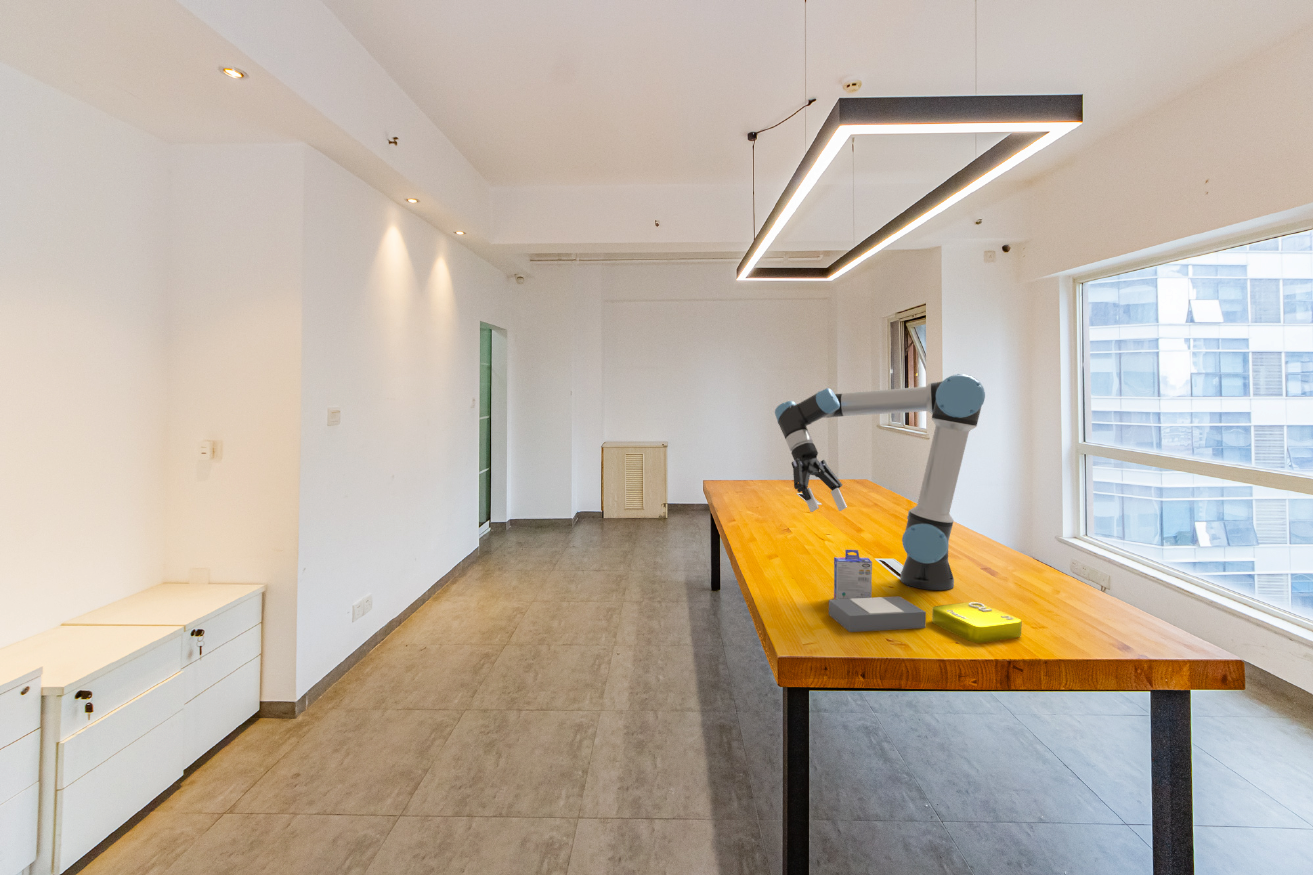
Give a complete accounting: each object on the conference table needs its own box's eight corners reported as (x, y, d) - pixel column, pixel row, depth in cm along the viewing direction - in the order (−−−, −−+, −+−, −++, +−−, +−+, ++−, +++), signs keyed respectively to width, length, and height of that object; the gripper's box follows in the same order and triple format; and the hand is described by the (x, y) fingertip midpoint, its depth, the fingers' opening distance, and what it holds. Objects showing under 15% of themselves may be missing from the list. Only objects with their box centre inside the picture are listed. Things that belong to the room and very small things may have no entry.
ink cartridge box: (868, 599, 167) (869, 549, 166) (872, 605, 162) (873, 554, 161) (832, 597, 169) (833, 548, 168) (835, 604, 163) (836, 553, 162)
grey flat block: (899, 610, 157) (899, 595, 157) (925, 627, 146) (925, 611, 145) (828, 614, 155) (829, 599, 155) (849, 631, 143) (849, 615, 143)
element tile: (928, 622, 150) (928, 604, 150) (975, 616, 154) (975, 598, 154) (974, 645, 136) (975, 625, 136) (1025, 638, 140) (1026, 618, 140)
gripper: (818, 454, 192) (845, 513, 183) (766, 451, 177) (792, 515, 168) (835, 443, 187) (863, 503, 178) (783, 439, 172) (811, 504, 163)
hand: (829, 509), depth 173 cm, fingers open, 13 cm apart
